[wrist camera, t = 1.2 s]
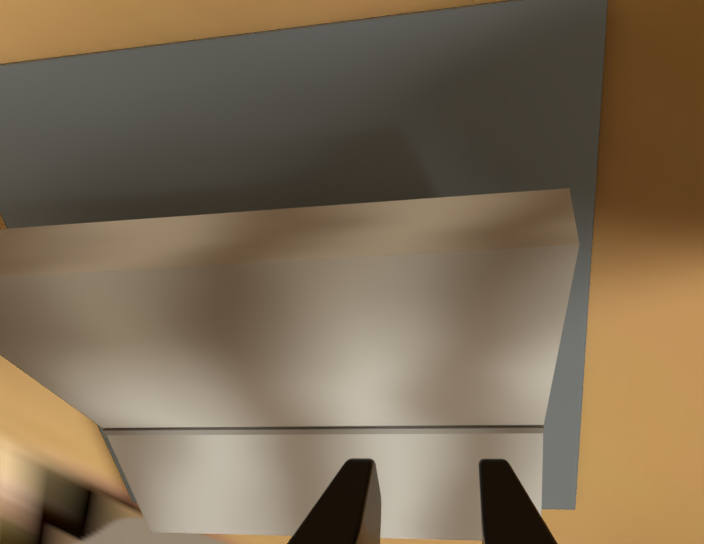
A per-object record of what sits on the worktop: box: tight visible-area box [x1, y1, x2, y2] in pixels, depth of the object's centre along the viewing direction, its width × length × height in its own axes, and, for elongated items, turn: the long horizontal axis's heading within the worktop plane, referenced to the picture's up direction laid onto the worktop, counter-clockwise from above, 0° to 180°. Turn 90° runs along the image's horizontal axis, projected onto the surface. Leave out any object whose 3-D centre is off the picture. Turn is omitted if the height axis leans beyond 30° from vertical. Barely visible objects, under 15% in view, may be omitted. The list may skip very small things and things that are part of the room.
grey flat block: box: [103, 425, 544, 541], centre depth 24 cm, size 16×6×2 cm, turn 98°
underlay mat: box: [0, 0, 608, 510], centre depth 22 cm, size 19×19×1 cm
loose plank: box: [0, 188, 580, 428], centre depth 18 cm, size 16×10×2 cm, turn 98°
